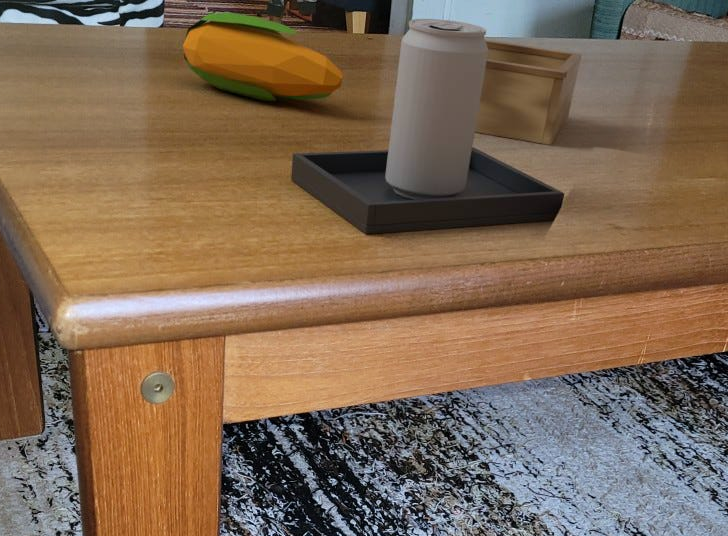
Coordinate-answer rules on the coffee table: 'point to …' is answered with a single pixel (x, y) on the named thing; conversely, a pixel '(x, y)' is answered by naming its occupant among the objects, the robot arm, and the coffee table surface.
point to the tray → (397, 213)
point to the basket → (526, 91)
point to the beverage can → (435, 108)
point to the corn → (257, 59)
